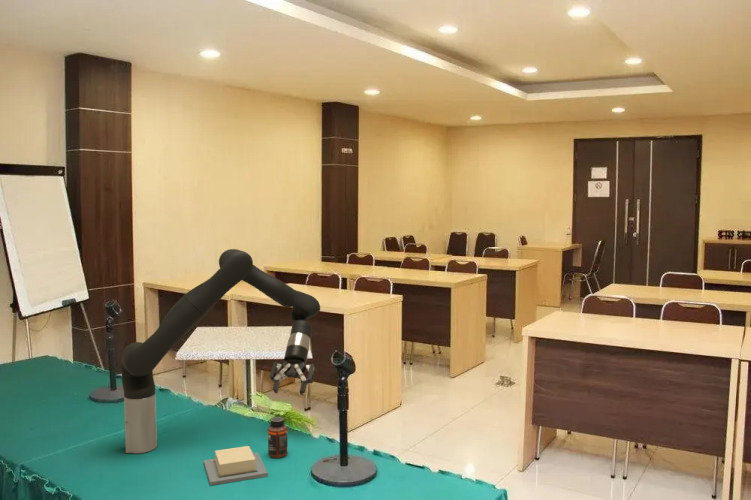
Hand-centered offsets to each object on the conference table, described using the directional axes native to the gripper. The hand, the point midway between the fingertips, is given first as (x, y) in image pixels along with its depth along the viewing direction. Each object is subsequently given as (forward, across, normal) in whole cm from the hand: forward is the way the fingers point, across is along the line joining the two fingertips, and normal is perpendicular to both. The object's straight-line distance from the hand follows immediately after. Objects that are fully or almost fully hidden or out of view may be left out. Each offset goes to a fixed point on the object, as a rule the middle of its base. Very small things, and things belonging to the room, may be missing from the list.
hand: (288, 393), depth 205 cm
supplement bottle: (+20, 0, +3) cm, 20 cm away
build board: (+28, -9, -6) cm, 30 cm away
